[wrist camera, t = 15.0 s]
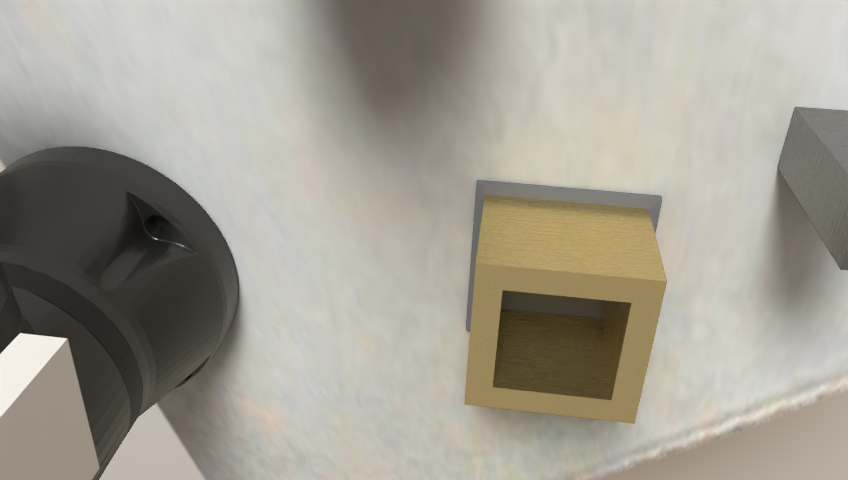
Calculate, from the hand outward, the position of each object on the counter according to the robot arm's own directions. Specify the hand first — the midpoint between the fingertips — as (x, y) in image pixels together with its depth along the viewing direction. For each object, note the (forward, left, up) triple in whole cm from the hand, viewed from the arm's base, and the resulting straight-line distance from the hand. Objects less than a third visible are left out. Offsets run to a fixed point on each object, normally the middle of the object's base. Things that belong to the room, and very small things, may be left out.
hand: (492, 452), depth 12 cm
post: (+14, -5, -27) cm, 31 cm away
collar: (+3, -13, -26) cm, 29 cm away
